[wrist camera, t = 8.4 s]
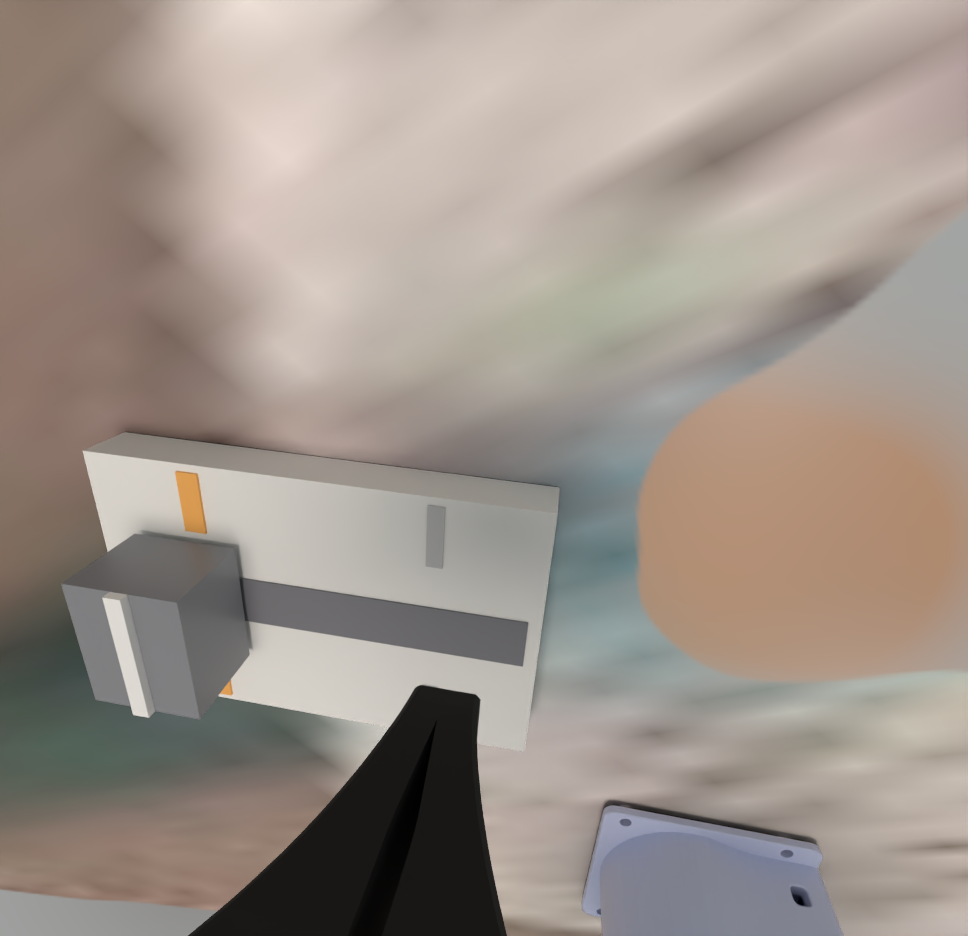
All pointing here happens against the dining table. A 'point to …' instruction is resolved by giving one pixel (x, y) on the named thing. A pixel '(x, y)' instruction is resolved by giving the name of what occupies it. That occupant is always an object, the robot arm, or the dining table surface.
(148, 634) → the fader cap
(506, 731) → the console
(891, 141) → the dining table surface
